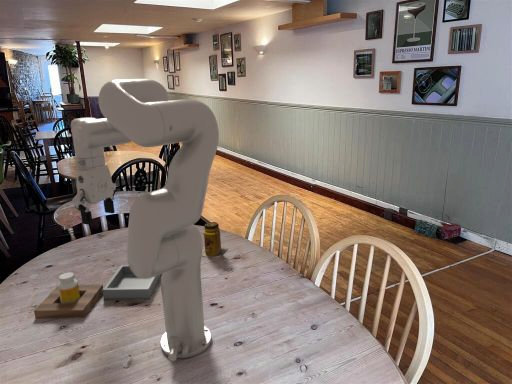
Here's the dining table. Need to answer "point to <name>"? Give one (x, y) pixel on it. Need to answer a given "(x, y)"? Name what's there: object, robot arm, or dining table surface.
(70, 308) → the socket holder
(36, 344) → the dining table surface
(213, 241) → the condiment
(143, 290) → the tray
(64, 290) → the supplement bottle
